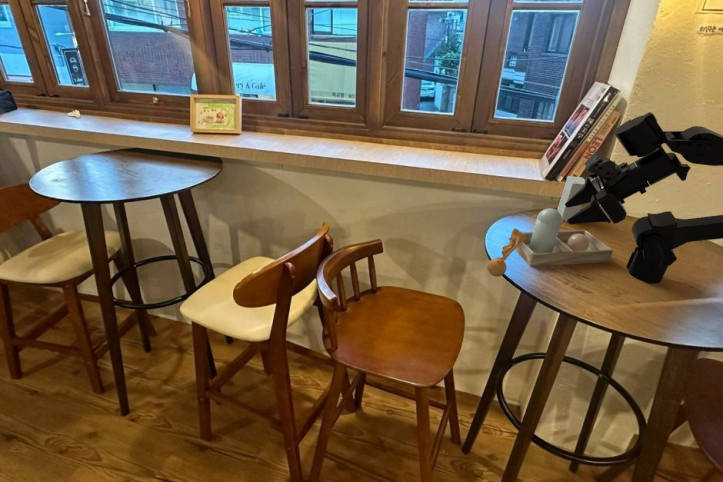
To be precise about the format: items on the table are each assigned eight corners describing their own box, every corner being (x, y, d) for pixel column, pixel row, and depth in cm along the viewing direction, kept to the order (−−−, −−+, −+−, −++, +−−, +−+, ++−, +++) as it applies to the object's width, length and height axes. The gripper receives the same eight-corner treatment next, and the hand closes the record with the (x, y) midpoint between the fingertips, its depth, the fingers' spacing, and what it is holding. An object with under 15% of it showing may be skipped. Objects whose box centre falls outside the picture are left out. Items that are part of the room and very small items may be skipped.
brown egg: (590, 255, 96) (596, 239, 94) (572, 256, 95) (578, 239, 93) (578, 246, 100) (583, 229, 98) (561, 247, 99) (566, 230, 97)
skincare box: (576, 225, 112) (589, 185, 106) (559, 223, 113) (572, 183, 107) (570, 216, 117) (583, 177, 111) (555, 214, 118) (567, 175, 112)
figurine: (488, 263, 93) (499, 216, 87) (515, 270, 91) (528, 222, 85) (483, 282, 86) (494, 233, 80) (512, 289, 84) (526, 239, 78)
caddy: (607, 264, 95) (613, 250, 93) (529, 269, 92) (533, 254, 90) (580, 242, 103) (585, 229, 101) (508, 246, 100) (511, 233, 98)
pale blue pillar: (553, 252, 97) (567, 208, 91) (547, 261, 93) (561, 216, 87) (531, 245, 99) (543, 202, 94) (524, 254, 96) (537, 209, 90)
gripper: (612, 131, 88) (545, 172, 96) (628, 155, 72) (546, 201, 81) (640, 171, 89) (571, 208, 98) (661, 202, 74) (578, 243, 83)
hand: (567, 213), depth 90 cm, fingers open, 9 cm apart
